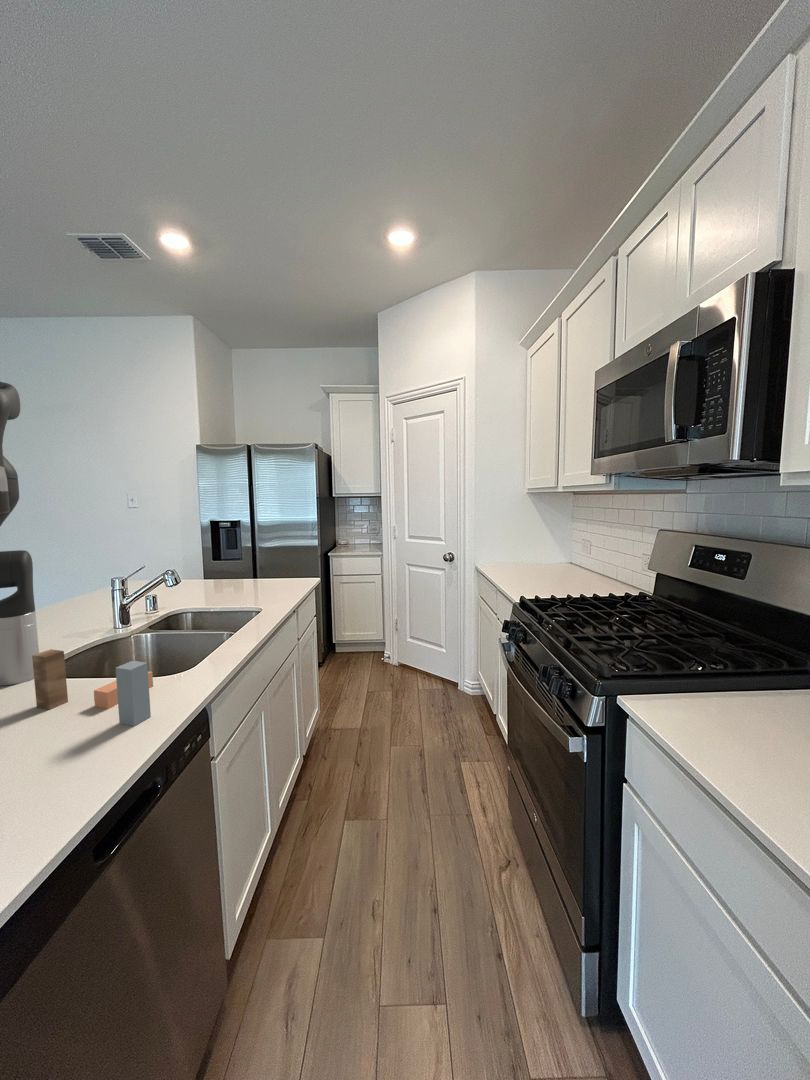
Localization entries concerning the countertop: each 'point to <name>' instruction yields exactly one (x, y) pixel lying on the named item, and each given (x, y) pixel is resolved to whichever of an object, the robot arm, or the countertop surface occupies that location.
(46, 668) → the walnut pillar
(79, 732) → the countertop surface
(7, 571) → the robot arm
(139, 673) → the slate pillar
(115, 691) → the terracotta pillar
